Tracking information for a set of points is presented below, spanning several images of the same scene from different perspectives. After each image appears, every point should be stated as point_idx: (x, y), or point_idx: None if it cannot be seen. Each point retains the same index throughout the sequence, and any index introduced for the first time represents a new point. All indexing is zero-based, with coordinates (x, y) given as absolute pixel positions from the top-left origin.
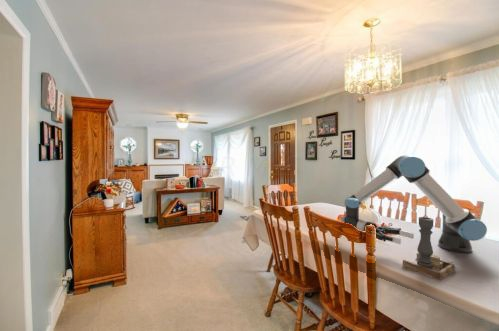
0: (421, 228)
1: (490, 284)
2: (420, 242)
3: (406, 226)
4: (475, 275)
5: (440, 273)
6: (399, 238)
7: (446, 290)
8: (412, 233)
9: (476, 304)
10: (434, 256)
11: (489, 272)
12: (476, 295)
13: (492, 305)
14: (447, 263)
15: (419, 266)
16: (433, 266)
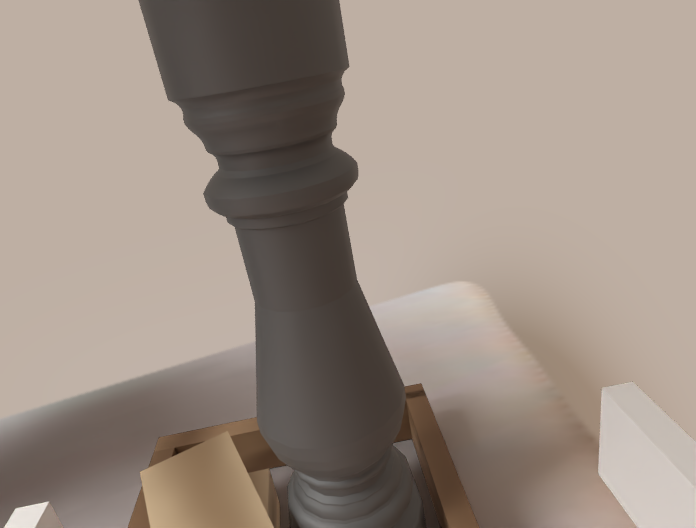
0: (332, 126)
1: (237, 353)
2: (362, 325)
3: None
4: (168, 408)
5: (421, 384)
6: (629, 392)
7: (511, 360)
8: (41, 513)
9: (488, 296)
10: (213, 468)
11: (64, 409)
12: (412, 322)
13: (433, 289)
14: None
15: (463, 493)
16: (274, 519)
